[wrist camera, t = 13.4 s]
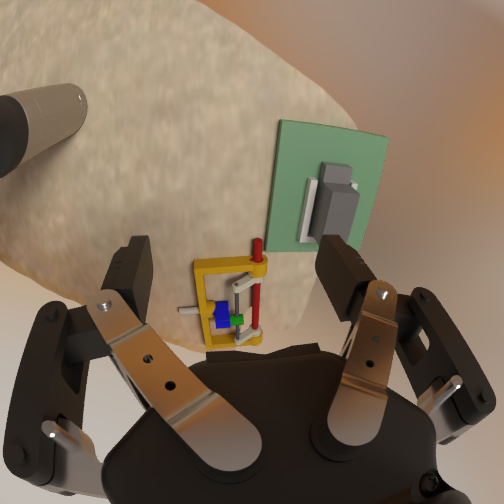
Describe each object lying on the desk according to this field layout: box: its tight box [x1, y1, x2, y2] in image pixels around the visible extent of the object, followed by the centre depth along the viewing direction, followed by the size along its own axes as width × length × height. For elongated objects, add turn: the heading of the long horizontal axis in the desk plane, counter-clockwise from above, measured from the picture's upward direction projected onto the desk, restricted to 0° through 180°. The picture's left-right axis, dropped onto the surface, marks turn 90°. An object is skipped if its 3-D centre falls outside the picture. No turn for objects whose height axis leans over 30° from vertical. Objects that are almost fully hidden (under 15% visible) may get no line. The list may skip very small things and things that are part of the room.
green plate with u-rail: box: [264, 119, 389, 252], centre depth 47 cm, size 20×24×3 cm
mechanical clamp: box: [179, 238, 268, 349], centre depth 57 cm, size 18×6×30 cm
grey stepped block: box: [309, 161, 360, 245], centre depth 45 cm, size 13×5×6 cm, turn 175°
